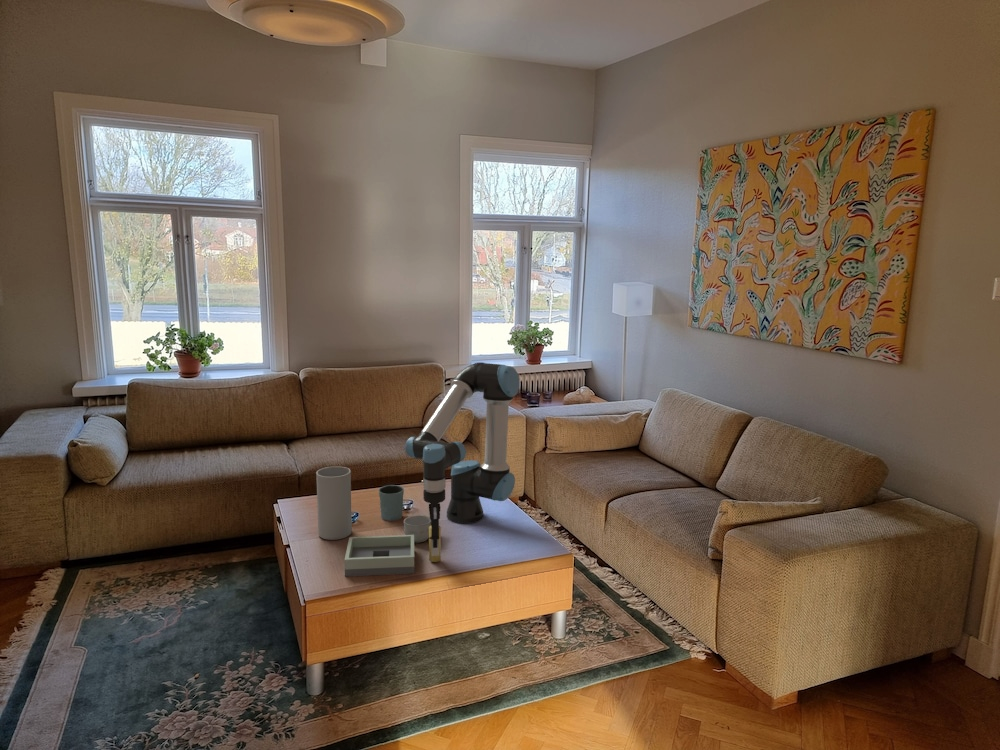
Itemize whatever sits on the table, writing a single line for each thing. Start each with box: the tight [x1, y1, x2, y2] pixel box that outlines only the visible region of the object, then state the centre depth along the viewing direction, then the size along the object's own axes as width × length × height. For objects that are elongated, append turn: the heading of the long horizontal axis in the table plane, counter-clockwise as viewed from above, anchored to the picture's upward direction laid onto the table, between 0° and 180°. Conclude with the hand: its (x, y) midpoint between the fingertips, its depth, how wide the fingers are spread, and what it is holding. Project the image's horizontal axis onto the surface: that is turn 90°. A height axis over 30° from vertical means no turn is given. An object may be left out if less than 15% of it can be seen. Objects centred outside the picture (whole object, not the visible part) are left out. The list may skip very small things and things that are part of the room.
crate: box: [344, 534, 415, 577], centre depth 232 cm, size 23×18×6 cm
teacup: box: [403, 514, 431, 543], centre depth 252 cm, size 14×11×8 cm
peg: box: [428, 525, 442, 563], centre depth 233 cm, size 4×4×12 cm
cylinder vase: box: [315, 466, 353, 541], centre depth 253 cm, size 12×12×25 cm
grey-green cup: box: [378, 484, 405, 522], centre depth 272 cm, size 10×10×12 cm
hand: (434, 552), depth 234 cm, fingers closed on peg, 4 cm apart
